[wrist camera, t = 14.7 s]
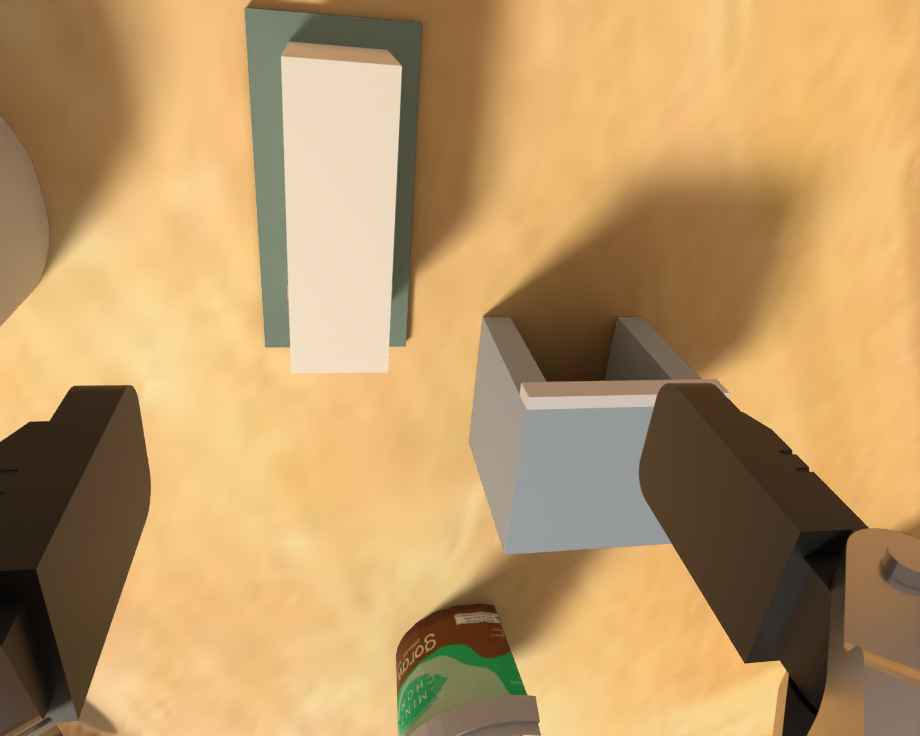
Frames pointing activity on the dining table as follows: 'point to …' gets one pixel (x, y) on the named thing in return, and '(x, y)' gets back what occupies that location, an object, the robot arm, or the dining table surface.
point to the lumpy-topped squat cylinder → (19, 224)
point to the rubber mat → (265, 81)
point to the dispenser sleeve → (569, 441)
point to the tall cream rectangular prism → (340, 203)
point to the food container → (461, 678)
